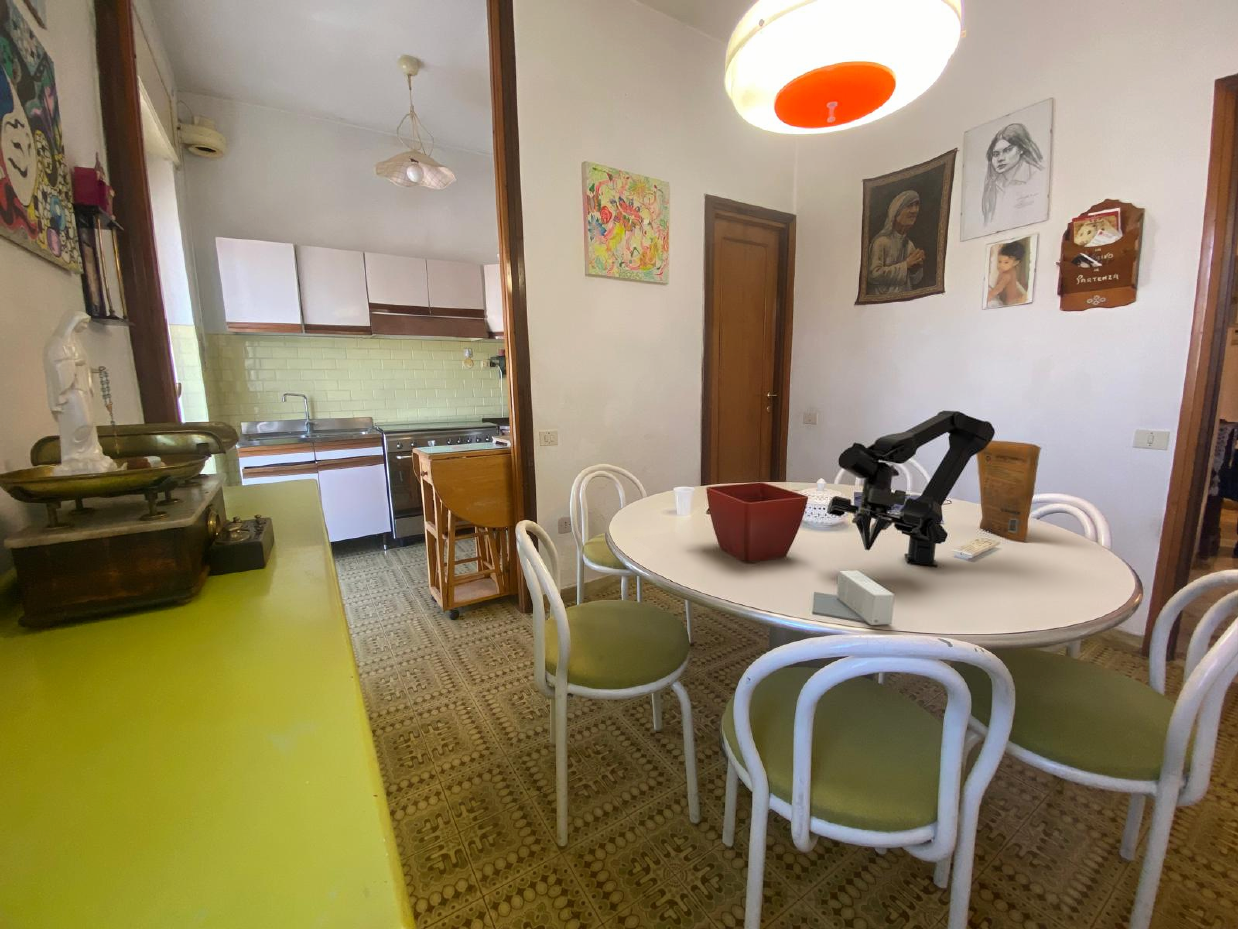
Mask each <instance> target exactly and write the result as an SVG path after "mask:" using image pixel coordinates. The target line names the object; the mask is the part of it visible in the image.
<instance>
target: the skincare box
mask: <svg viewBox="0 0 1238 929" xmlns="http://www.w3.org/2000/svg"><path fill="white" fill-rule="evenodd" d="M836 595H837V598H838V599H839V600H840V601H842V602H843V603H844V604H845V605H847V606H848V607H849V608H850V609H852V610H853V611H854V612H855V613H857V614H858V615H859V616H860V617H862V618H863V619H864V620H866V621H867V622H868V623H867V624H869V625H871V626H874V625H875V626H877V625H892V623H893V614H894V613H893V612H894V604H895V603H894V602H895V594H894V593H893V592H891V591H889V590H888V589H886V588H885V587H883V586H882V585H880V584H878V583H877V582H875V581H874V580H873V579H871V578H869V577H868V576H866V575H865V574H863V573H862V572H860V571H859V570H840V571H838V578H837V591H836Z"/></svg>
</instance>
